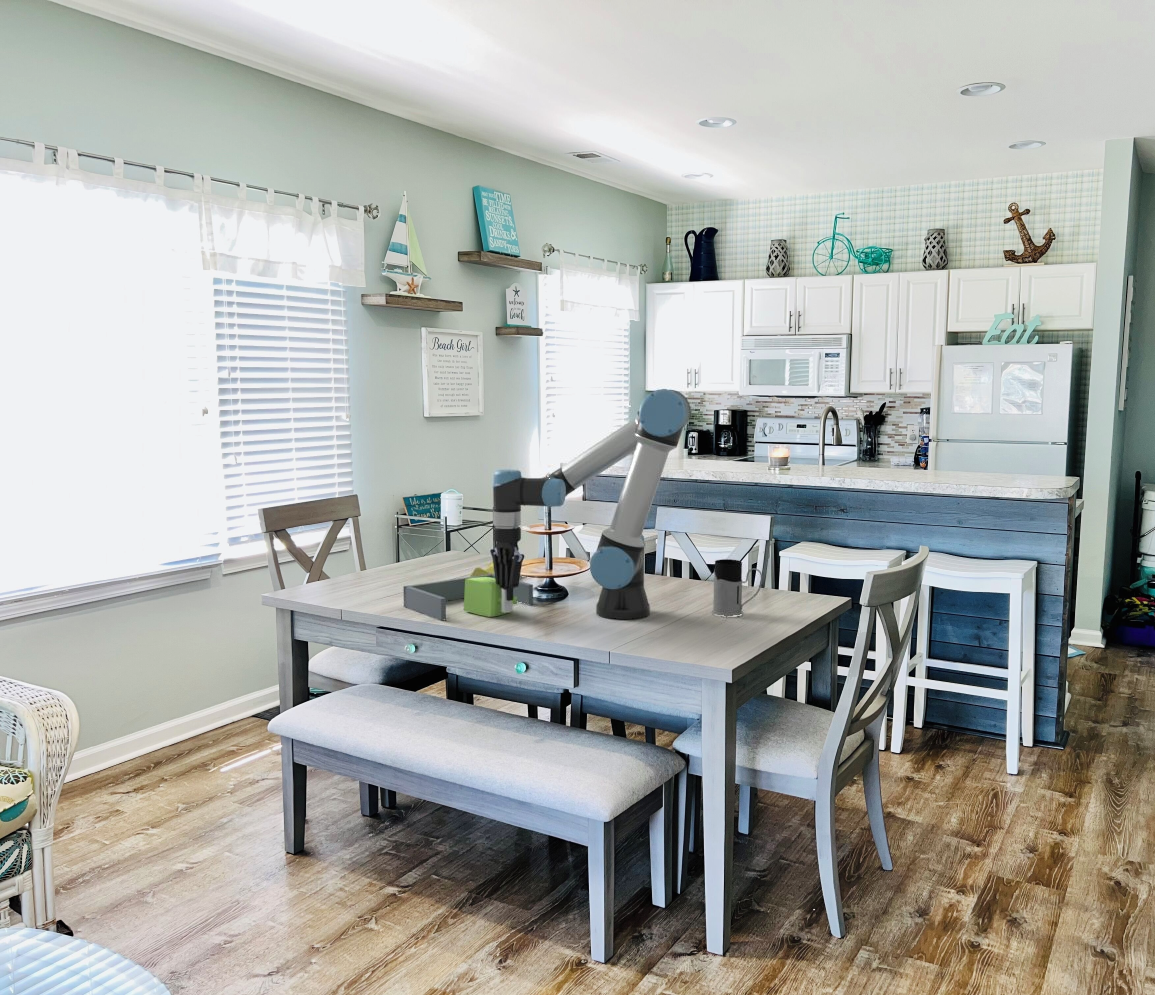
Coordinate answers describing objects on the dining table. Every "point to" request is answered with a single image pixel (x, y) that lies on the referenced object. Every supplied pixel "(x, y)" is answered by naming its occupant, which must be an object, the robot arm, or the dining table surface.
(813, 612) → the dining table surface
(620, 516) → the robot arm
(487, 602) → the gearbox
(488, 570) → the yellow crumpled cloth
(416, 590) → the grey low frame
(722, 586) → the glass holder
